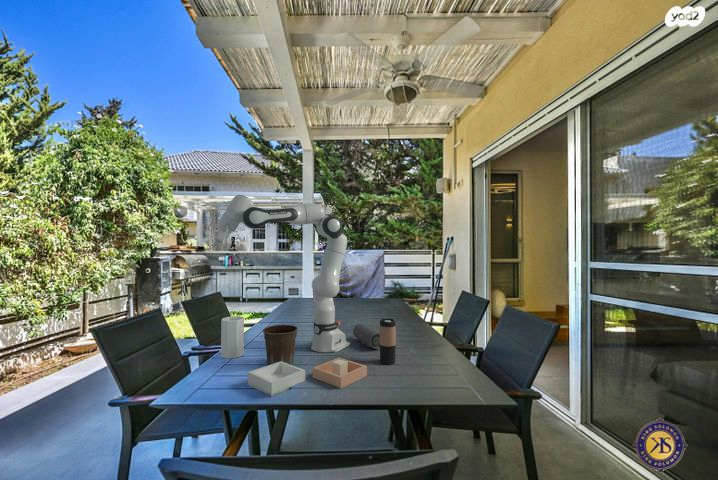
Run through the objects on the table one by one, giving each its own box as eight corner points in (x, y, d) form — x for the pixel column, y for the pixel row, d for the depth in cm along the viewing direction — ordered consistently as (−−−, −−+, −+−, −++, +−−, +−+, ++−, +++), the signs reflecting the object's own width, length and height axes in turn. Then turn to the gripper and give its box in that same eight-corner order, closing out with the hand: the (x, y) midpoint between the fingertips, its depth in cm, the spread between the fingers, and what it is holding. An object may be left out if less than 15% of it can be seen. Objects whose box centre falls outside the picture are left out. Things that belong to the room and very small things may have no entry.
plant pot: (289, 370, 143) (289, 334, 143) (255, 368, 146) (256, 332, 146) (302, 358, 159) (303, 325, 159) (272, 356, 162) (272, 323, 162)
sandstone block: (339, 373, 138) (339, 359, 138) (347, 376, 135) (347, 361, 135) (332, 376, 134) (332, 362, 134) (340, 379, 131) (340, 364, 131)
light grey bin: (281, 372, 141) (281, 361, 141) (305, 382, 130) (305, 370, 131) (247, 384, 128) (248, 372, 128) (271, 396, 118) (271, 383, 118)
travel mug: (376, 363, 153) (377, 320, 153) (383, 358, 159) (383, 317, 160) (392, 366, 149) (392, 322, 149) (397, 361, 156) (398, 319, 156)
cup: (247, 352, 168) (248, 316, 168) (237, 359, 157) (238, 321, 157) (227, 351, 169) (228, 315, 170) (216, 358, 158) (216, 320, 158)
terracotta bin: (339, 368, 146) (339, 357, 146) (366, 377, 136) (366, 365, 136) (312, 379, 133) (312, 367, 134) (340, 390, 123) (341, 377, 123)
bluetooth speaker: (351, 340, 189) (352, 323, 190) (366, 338, 193) (366, 322, 194) (369, 352, 169) (369, 333, 169) (384, 350, 173) (384, 331, 173)
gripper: (235, 226, 148) (219, 253, 145) (232, 228, 167) (218, 252, 164) (222, 219, 146) (206, 246, 143) (221, 222, 164) (206, 246, 162)
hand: (212, 249), depth 154 cm, fingers open, 8 cm apart
